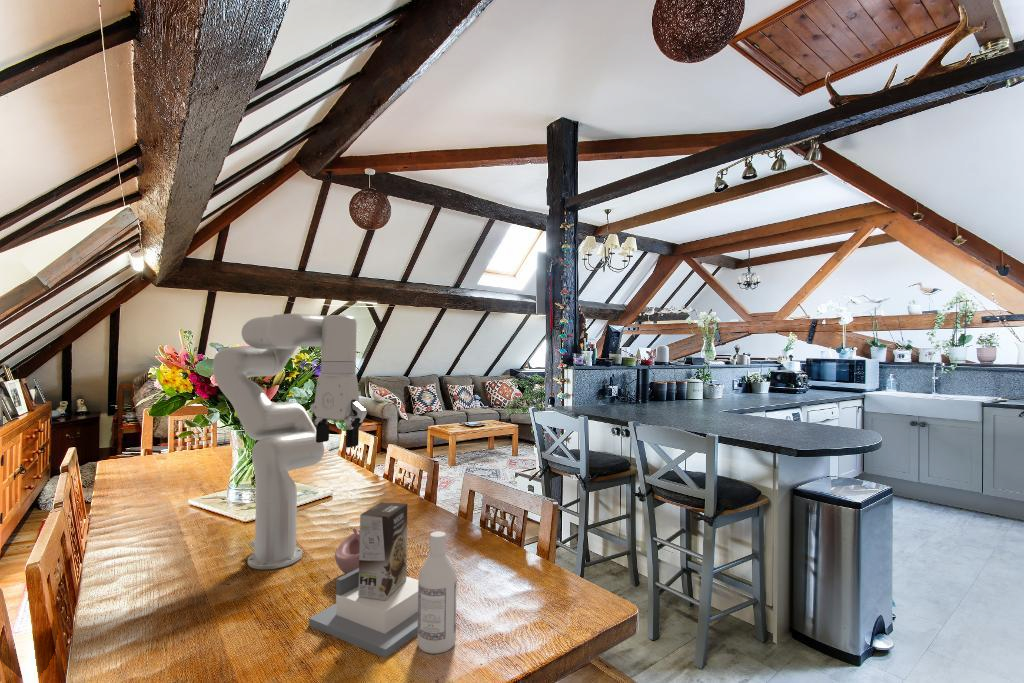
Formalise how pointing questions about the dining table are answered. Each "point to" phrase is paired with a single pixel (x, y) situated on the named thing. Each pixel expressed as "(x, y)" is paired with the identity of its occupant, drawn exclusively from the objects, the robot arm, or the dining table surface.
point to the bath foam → (437, 599)
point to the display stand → (371, 616)
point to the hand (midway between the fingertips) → (336, 444)
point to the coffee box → (382, 550)
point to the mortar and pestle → (349, 553)
